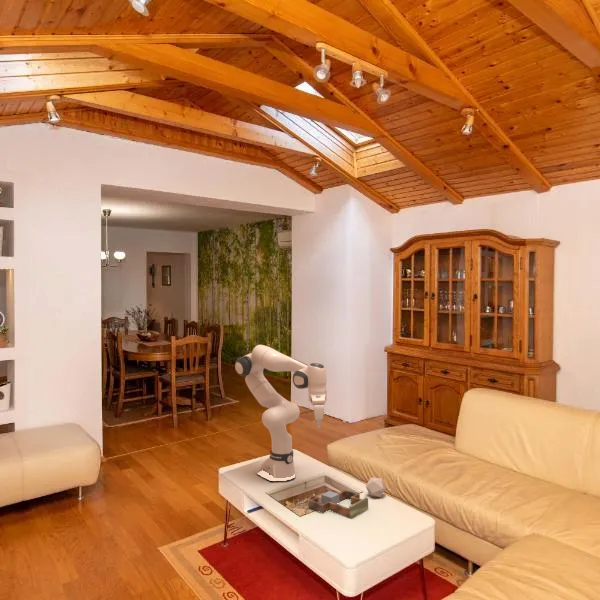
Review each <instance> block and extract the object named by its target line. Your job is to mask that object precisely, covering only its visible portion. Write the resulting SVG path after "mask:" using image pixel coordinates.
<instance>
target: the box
mask: <svg viewBox="0 0 600 600" xmlns="http://www.w3.org/2000/svg"><path fill="white" fill-rule="evenodd" d="M328 491H332V492H335V493H338V494H339V497H340V502H343V501H344V500H346V499H347V500H350V499H351V500H350V505H349V506H348V507H346V506H343V505H341V504H335V503H333V502H330V501H328V502H326V503H324V504H322V502H319V501H320V500H319V499H320V498H319V497H318V496H315V495H310V497H309V498H310V499H309V500H308V509H310V510H313V511H315V512H318V511H320V512H322V513H321V514H325V513H327V512H329V511H328V510H331V511H330V512H332V511H333V512H332V513H335V512H336V513H335V514H337V513H338V515H340V514H341V515H340V516H344V517H345V518H349V519H353V518H355V517H357V516H360V514H362V513H364V512H366V511H368V510H369V498H368V497H363V498H361V496H360V493H358V492H354V491H351V490H347V489H344V490H341V491H337V490H334V489H331V488H328V487H326V488H325V493H326V492H328ZM351 504H352V505H351ZM326 511H327V512H326ZM320 512H319V513H320ZM324 512H325V513H324Z"/></svg>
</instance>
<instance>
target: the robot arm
mask: <svg viewBox="0 0 600 600" xmlns="http://www.w3.org/2000/svg"><path fill="white" fill-rule="evenodd" d="M234 369H235V372H236V373H237V375H239V376H241V377H245V378H244V380H245V384H246V386H247V387H248V389H249V391H250V392H251V394H252V395H253V397H254V398H255V400H256V401H257V403H259V405H260V406H262V407H263V408H267V409H266V410H264V411H263V413H262V415H261V422H262V425H263V426H264V427H265V428H266V429H267V430H268V431H269V434H270V438H271V451H269V452H268V455H269V457H268V458H267V459H265V460H264V461H263V462H262V464H261V467H260V468H261V469H262V470H263V471H265V472H267V473H269V475H272V476H273V477H274V478H286V477H291V476H293V475H294V474H295V471H296V470H295V462H294V450H293V436H292V434H290V433H289V432H288V430H287V425H288V424H291V423H293V422H295V421H296V420H297V419H299V417H300V415H301V411H300V407H299V405H298V404H296V403H294V402H291V401H290V400H287V399H286V398H284V396H282V395H281V394H280V393H279V392H277V390H276V389H275V388H274V387H273V386H272V384H271V383H270V382H269V380H268V379H267V378H266V377H265V375H264V373H266V372H267V371H269V372H293V374H292V383H293V385H294V387H296V388H297V389H298V390H304V389H308V401H309V402H310V403H311V405H312V407H313V408H312V409H313V414H314V420H315V423H316V428H317V429H321V428H322V427H321V426H322V421H323V420H324V413H325V404H326V402H327V401H328V399H327V397H328V396H327V391H328V390H327V386H326V385H327V373H326V367H325V366H324V364H322V363H317V362H311V363H309V364H307V363H305V362H302V361H301V360H298V359H295V358H292V357H291V356H288V355H286V354H284V353H282V352H280V351H278V350H276V349H274V348H272V347H270V346H267V345H264V344H257V345H255V347H253V349H252V351H251V352H250V353H247V354H246V355H243V356H240V357H238V358H237V359H236V360H235V363H234ZM261 469H260V470H261Z"/></svg>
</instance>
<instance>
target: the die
mask: <svg viewBox="0 0 600 600" xmlns="http://www.w3.org/2000/svg"><path fill="white" fill-rule="evenodd" d="M365 488H366V490H367V492H368V495H369V497H373V496H374V498H379V497H382V496H383V494H384V492H385V491H386V489H387V487H386V486H385V483H384V480H383V478H378V477H372V476H371V477H370V478H369V480H368V482H367V483H366V485H365Z"/></svg>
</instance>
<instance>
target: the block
mask: <svg viewBox="0 0 600 600" xmlns="http://www.w3.org/2000/svg"><path fill="white" fill-rule="evenodd" d="M320 500H321V504H324V503H326V502H328V501H330V502H333V503H335V504H337V503H339V504H340V502H341V501H340V497H339V494H338V493H335V492H332V491H328V492H326V491H325V492H324V493H322V494H321V499H320Z"/></svg>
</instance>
